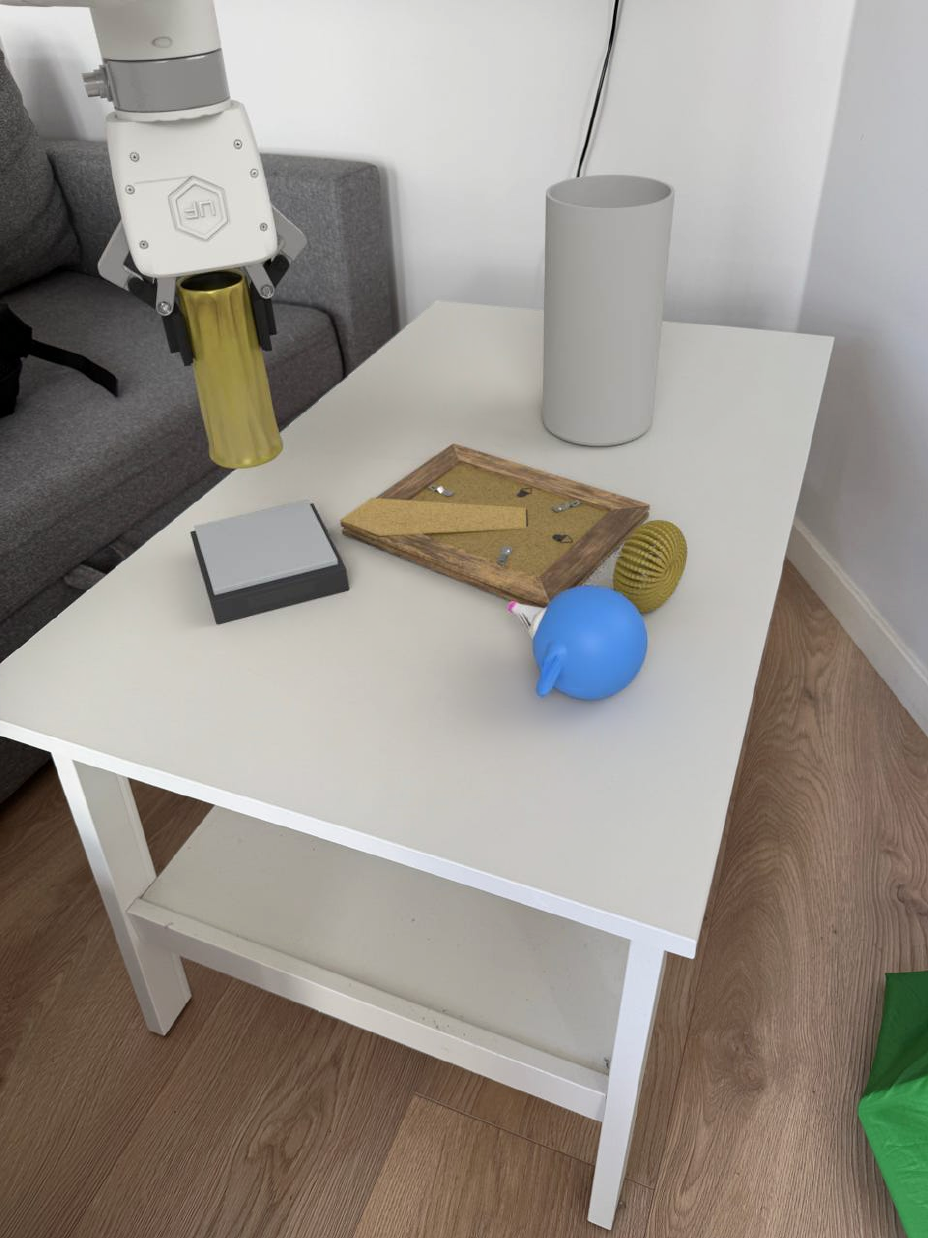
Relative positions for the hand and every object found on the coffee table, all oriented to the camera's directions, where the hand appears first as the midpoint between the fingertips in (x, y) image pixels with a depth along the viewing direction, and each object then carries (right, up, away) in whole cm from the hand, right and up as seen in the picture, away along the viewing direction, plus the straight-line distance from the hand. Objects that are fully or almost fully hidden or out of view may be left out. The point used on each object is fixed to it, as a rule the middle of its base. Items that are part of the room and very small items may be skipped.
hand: (225, 349), depth 71 cm
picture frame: (+22, -12, +19) cm, 31 cm away
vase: (0, -7, +6) cm, 9 cm away
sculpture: (+34, -20, +8) cm, 40 cm away
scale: (0, -16, +14) cm, 22 cm away
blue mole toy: (+27, -25, +2) cm, 37 cm away
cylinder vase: (+34, +2, +35) cm, 48 cm away
